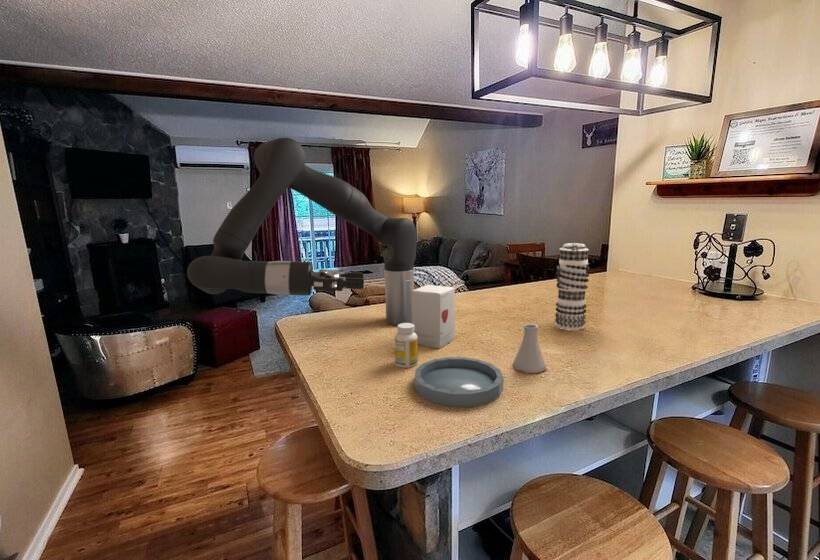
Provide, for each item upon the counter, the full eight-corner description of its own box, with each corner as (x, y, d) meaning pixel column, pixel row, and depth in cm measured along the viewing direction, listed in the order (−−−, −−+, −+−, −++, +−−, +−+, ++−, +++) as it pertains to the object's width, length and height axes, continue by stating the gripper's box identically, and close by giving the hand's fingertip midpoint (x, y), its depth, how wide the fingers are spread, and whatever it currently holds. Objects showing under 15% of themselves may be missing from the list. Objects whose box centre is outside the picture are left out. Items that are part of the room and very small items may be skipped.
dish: (434, 363, 95) (434, 352, 95) (510, 375, 87) (510, 364, 87) (400, 395, 79) (400, 383, 79) (489, 414, 72) (489, 401, 71)
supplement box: (440, 349, 104) (439, 293, 101) (411, 343, 109) (410, 290, 106) (455, 339, 112) (455, 286, 109) (428, 334, 116) (427, 284, 113)
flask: (552, 371, 89) (554, 328, 87) (524, 376, 87) (525, 332, 85) (534, 359, 96) (535, 319, 94) (507, 363, 94) (508, 323, 92)
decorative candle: (593, 327, 119) (598, 243, 115) (573, 333, 114) (578, 246, 110) (566, 320, 127) (571, 241, 122) (547, 325, 122) (551, 243, 117)
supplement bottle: (396, 369, 92) (394, 329, 90) (394, 360, 98) (393, 322, 96) (419, 367, 93) (418, 328, 91) (416, 358, 98) (415, 321, 96)
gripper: (284, 265, 80) (364, 268, 83) (294, 257, 94) (363, 260, 97) (283, 301, 82) (363, 303, 84) (294, 289, 95) (362, 291, 98)
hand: (363, 280), depth 90 cm, fingers open, 8 cm apart
